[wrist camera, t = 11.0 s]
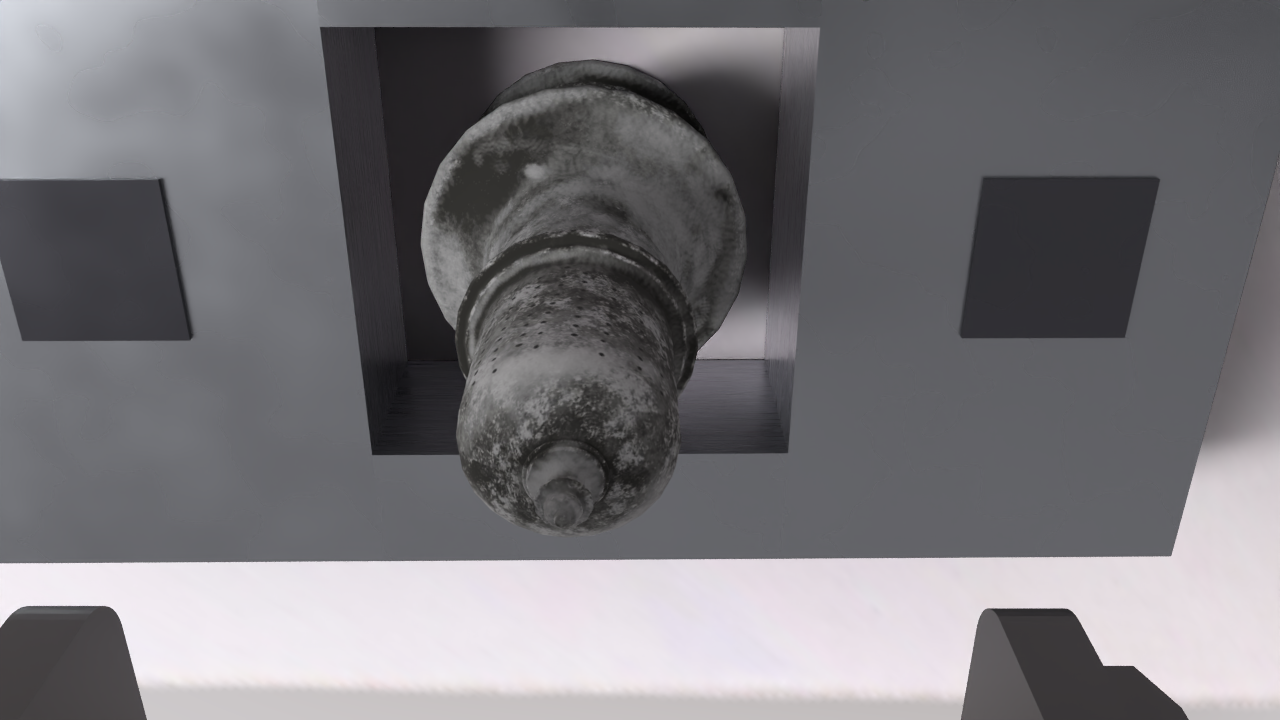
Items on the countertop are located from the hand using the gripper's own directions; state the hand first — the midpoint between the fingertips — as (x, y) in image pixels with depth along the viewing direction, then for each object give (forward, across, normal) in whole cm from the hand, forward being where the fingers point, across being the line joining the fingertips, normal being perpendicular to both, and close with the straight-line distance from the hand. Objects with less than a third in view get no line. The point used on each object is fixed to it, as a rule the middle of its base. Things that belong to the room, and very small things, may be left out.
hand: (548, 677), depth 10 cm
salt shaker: (+14, 0, 0) cm, 15 cm away
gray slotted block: (+14, 0, 0) cm, 14 cm away
